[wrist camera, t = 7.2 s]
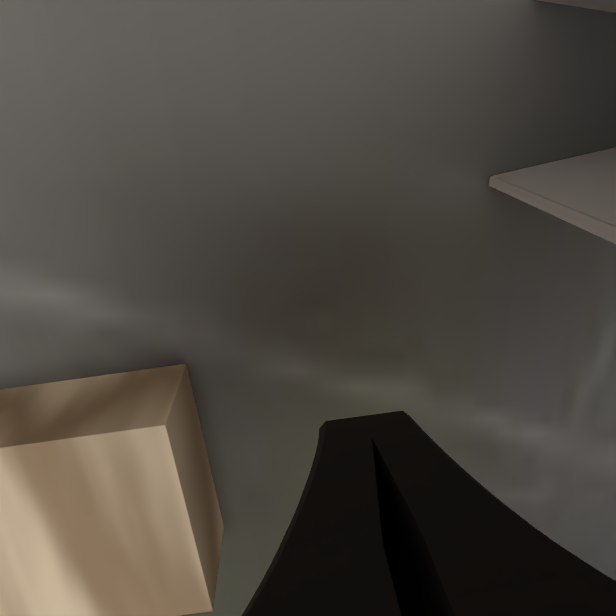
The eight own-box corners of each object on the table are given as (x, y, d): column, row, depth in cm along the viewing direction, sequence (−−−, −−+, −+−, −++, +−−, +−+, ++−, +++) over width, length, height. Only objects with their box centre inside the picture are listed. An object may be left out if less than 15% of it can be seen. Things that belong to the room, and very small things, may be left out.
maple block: (165, 424, 16) (-188, 473, 16) (212, 610, 19) (-94, 652, 19) (186, 362, 20) (-100, 402, 20) (224, 524, 23) (-32, 559, 23)
